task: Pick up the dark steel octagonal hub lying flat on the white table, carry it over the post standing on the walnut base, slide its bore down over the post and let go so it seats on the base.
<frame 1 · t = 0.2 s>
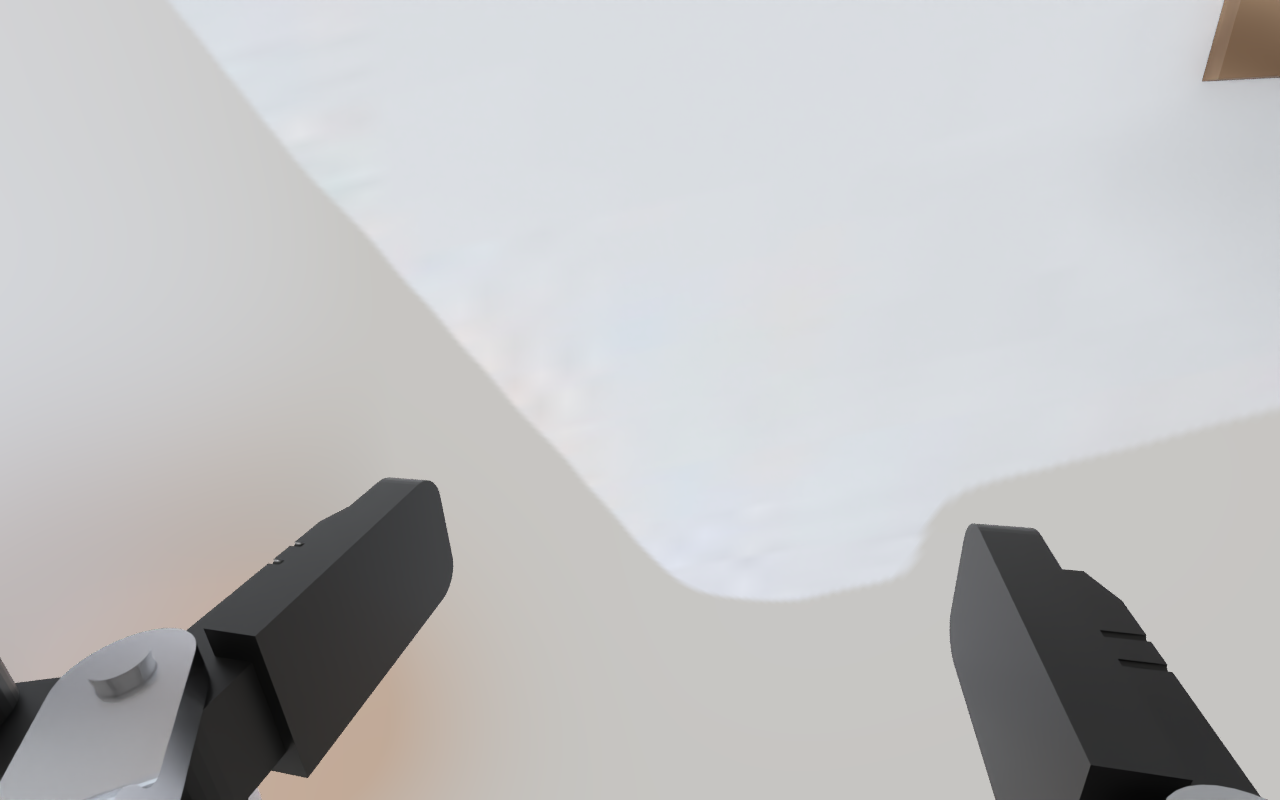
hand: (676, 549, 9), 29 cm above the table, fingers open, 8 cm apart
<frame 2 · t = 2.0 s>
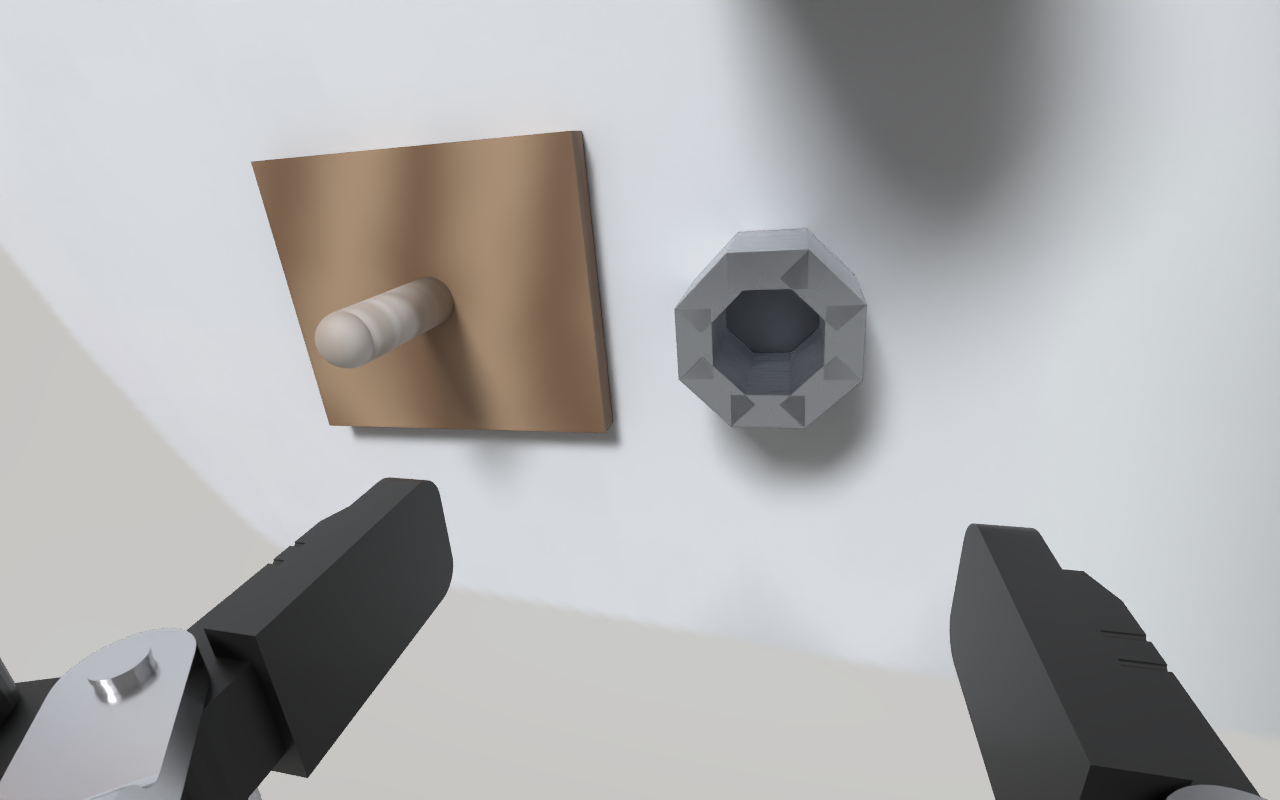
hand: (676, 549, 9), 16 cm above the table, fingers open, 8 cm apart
hub: (772, 309, 24), on the table
post stand: (446, 293, 27), on the table
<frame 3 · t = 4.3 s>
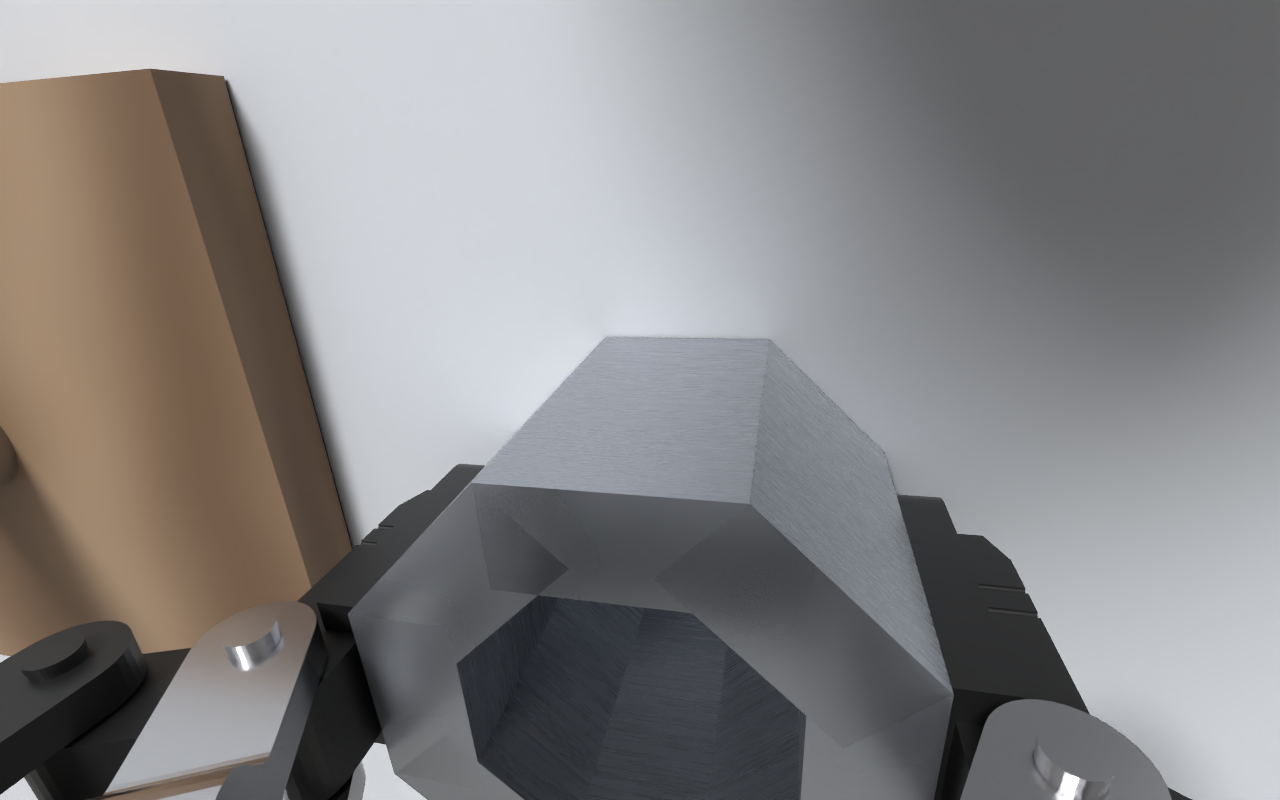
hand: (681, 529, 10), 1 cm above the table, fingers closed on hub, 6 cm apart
hub: (689, 508, 10), on the table, touching gripper
post stand: (40, 415, 13), on the table
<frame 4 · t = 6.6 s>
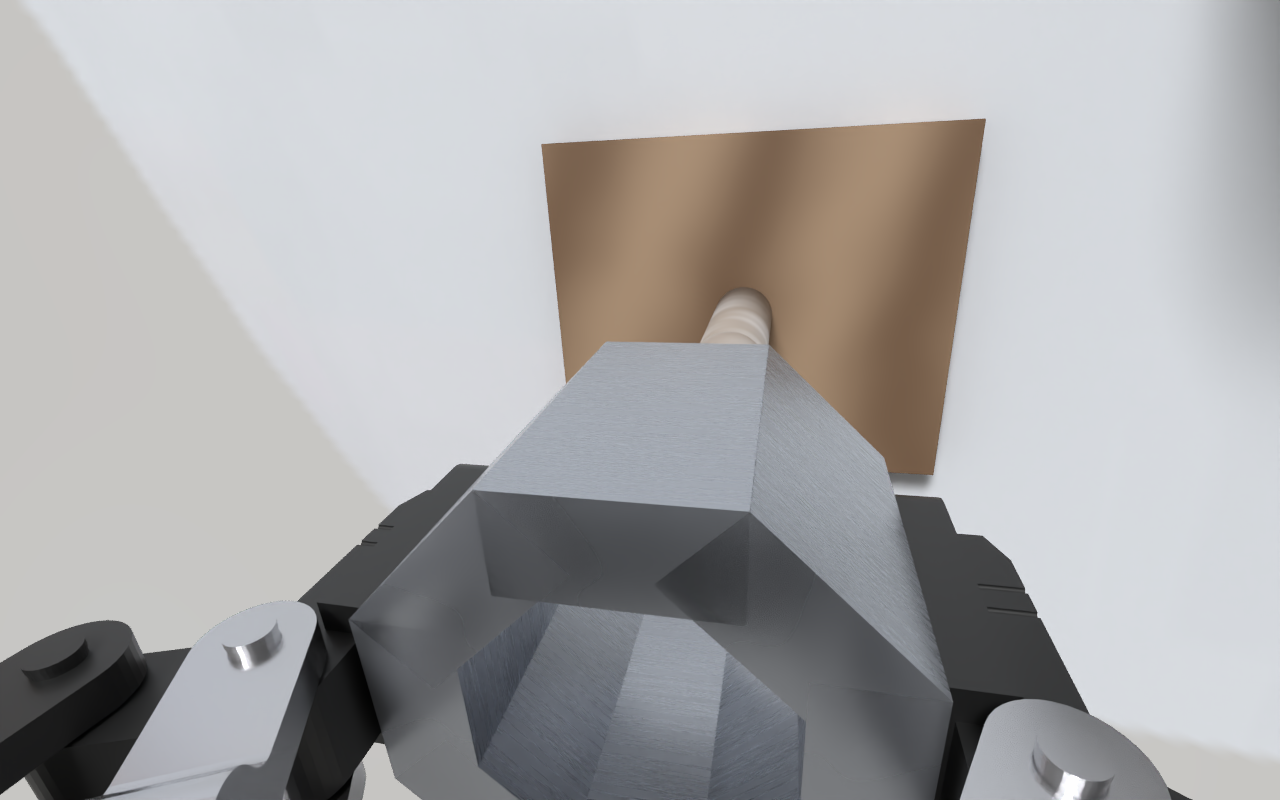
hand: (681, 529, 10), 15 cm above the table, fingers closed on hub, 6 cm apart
hub: (689, 512, 11), point 14 cm above the table, touching gripper
post stand: (745, 306, 23), on the table
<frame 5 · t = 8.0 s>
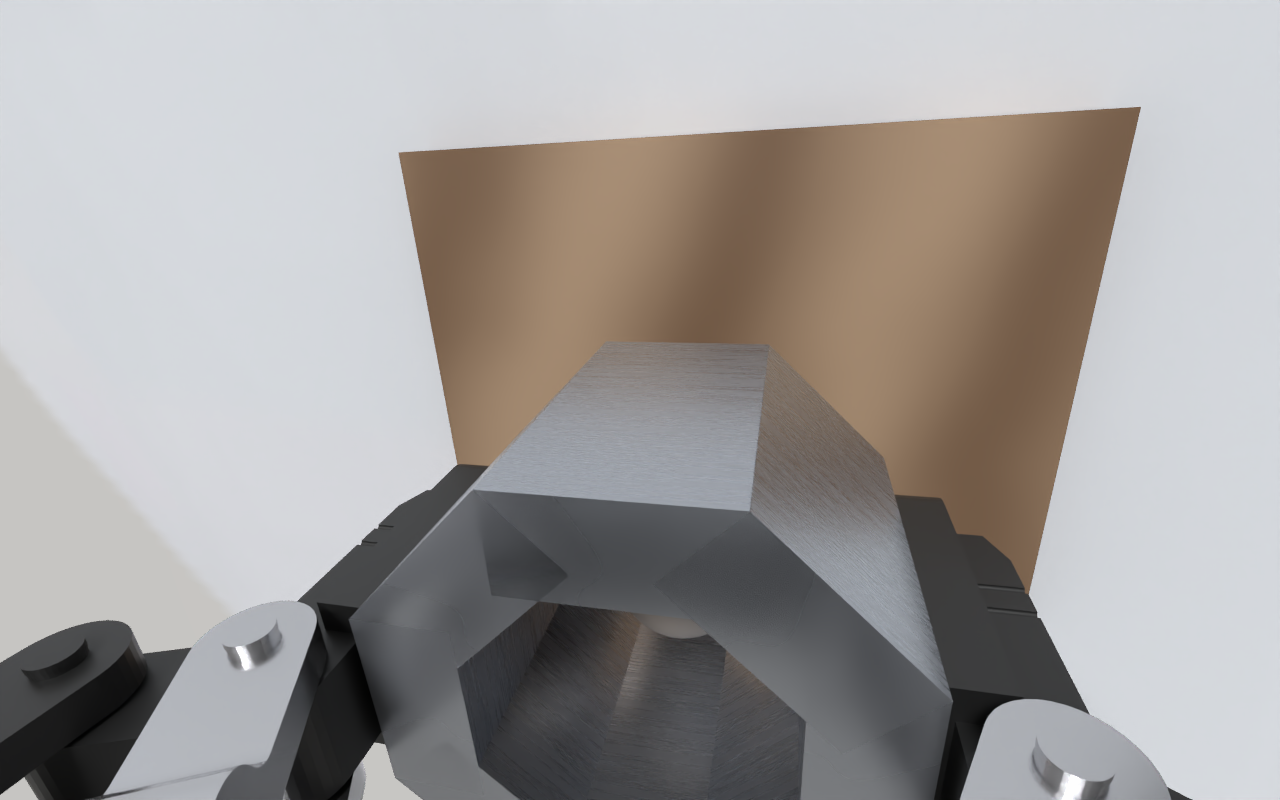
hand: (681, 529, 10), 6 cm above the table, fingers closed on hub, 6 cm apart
hub: (689, 511, 11), point 5 cm above the table, touching gripper
post stand: (726, 397, 15), on the table
when the fingers open (4 cm above the table, at t = 9.0 s): hub drops 2 cm, resting on post stand.
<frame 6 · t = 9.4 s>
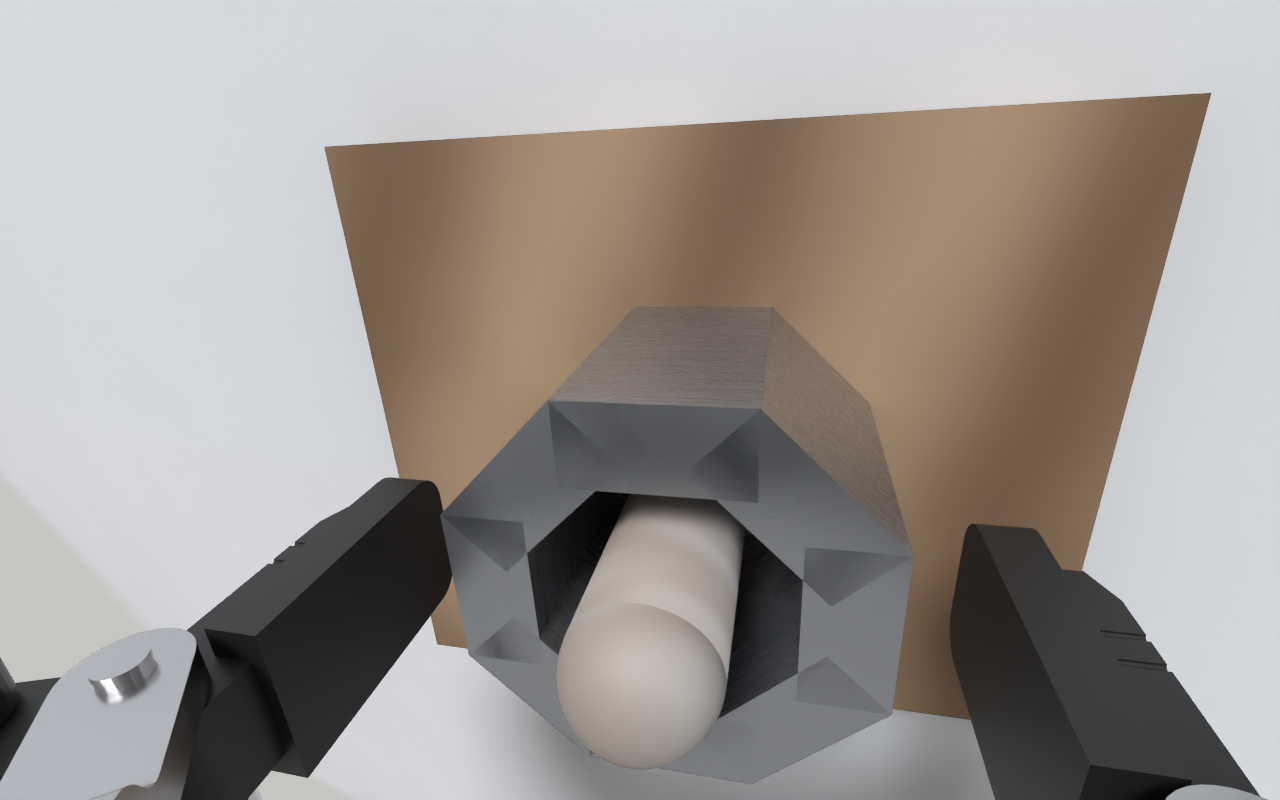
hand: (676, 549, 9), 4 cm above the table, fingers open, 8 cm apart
hub: (703, 455, 12), point 1 cm above the table, touching post stand
post stand: (709, 429, 13), on the table
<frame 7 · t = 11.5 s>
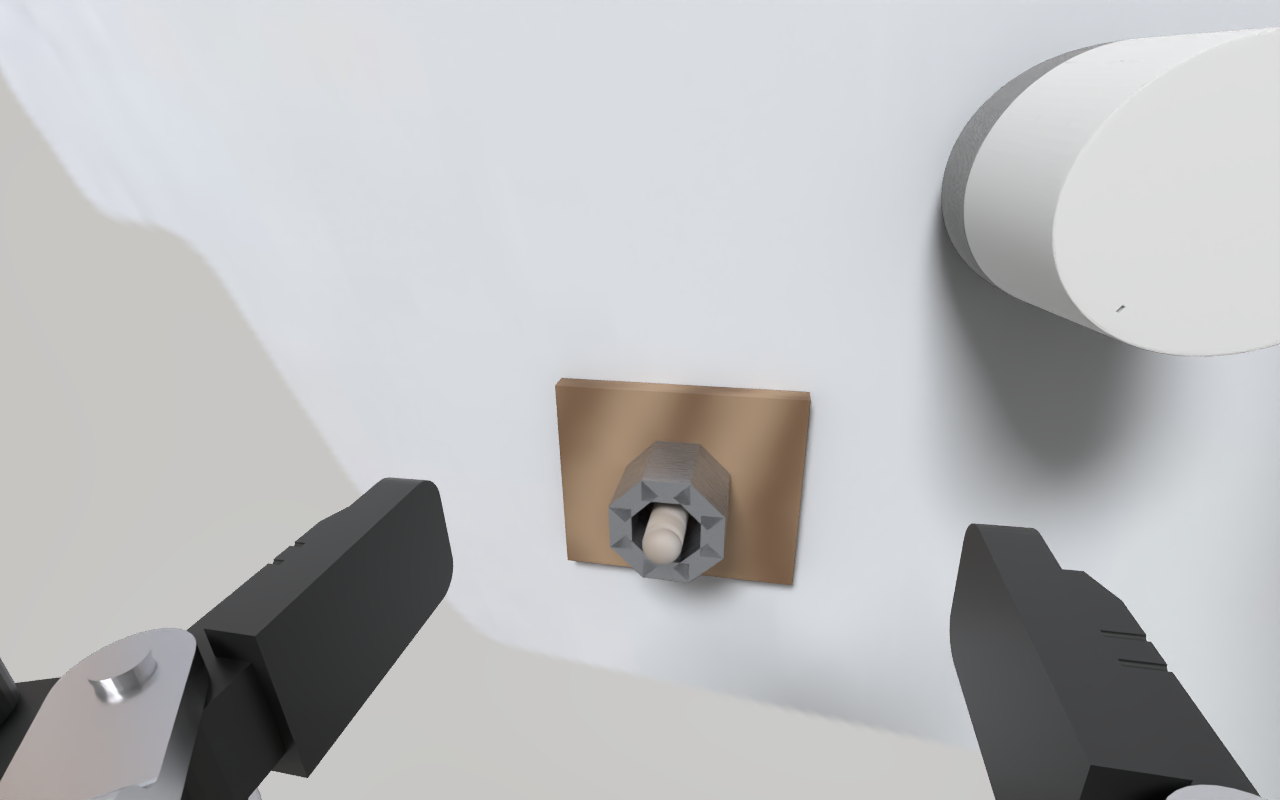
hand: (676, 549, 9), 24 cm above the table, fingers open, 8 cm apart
hub: (677, 488, 36), point 1 cm above the table, touching post stand
smart speaker: (1037, 175, 28), on the table
post stand: (679, 478, 37), on the table
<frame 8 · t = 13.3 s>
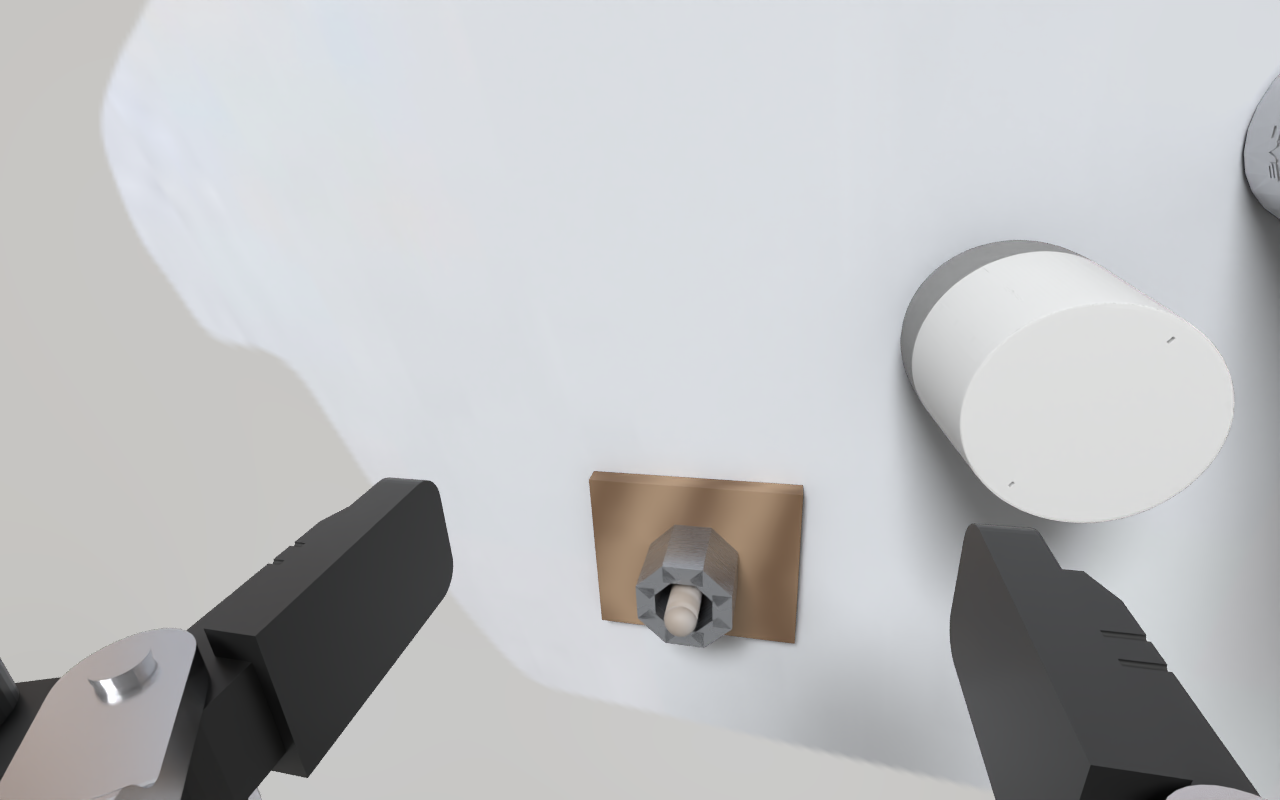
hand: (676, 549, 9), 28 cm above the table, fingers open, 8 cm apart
hub: (693, 563, 42), point 1 cm above the table, touching post stand
smart speaker: (983, 319, 34), on the table
post stand: (695, 552, 44), on the table
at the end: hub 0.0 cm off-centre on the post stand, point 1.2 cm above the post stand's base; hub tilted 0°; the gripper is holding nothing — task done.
